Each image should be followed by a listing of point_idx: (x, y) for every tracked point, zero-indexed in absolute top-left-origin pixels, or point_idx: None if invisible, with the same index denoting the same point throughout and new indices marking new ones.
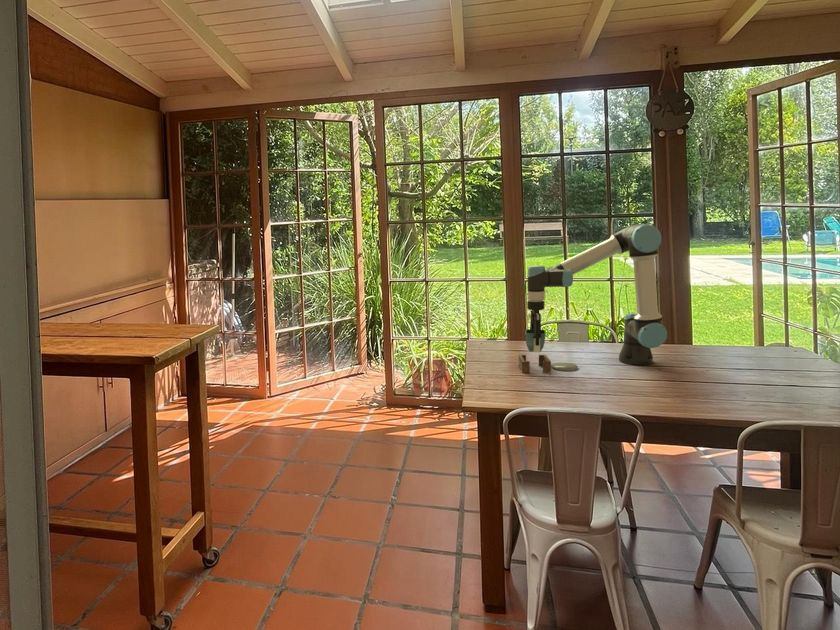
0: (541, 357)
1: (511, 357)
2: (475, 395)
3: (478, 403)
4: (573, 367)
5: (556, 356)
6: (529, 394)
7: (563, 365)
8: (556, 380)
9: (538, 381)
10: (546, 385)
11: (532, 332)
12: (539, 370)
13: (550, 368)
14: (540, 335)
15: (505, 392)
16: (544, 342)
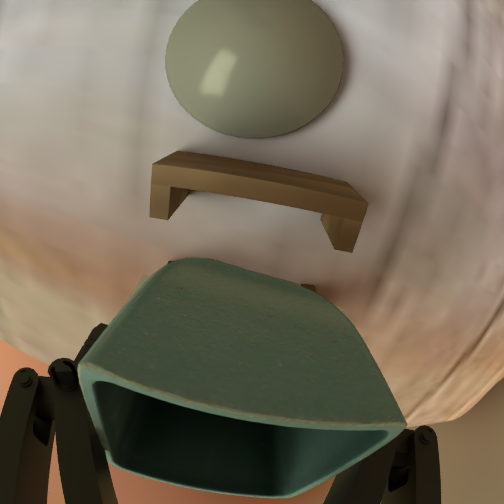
0: (173, 197)
1: (50, 276)
2: (431, 418)
3: (463, 410)
4: (302, 17)
5: (29, 61)
6: (496, 335)
7: (240, 55)
8: (459, 213)
9: (439, 287)
10: (481, 275)
11: (119, 421)
12: (288, 225)
13: (353, 190)
14: (433, 447)
15: (455, 379)
16: (358, 333)
